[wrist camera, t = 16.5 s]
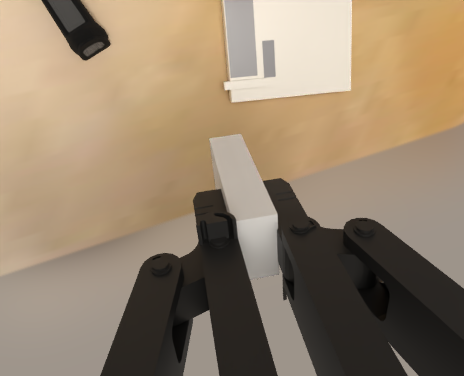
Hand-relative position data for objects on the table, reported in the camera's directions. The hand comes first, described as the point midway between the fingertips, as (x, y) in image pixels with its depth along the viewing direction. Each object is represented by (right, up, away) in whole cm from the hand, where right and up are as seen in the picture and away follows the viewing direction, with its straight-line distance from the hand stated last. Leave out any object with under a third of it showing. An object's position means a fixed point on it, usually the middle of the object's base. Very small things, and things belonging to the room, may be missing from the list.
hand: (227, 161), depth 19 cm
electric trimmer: (-17, +19, +19) cm, 32 cm away
